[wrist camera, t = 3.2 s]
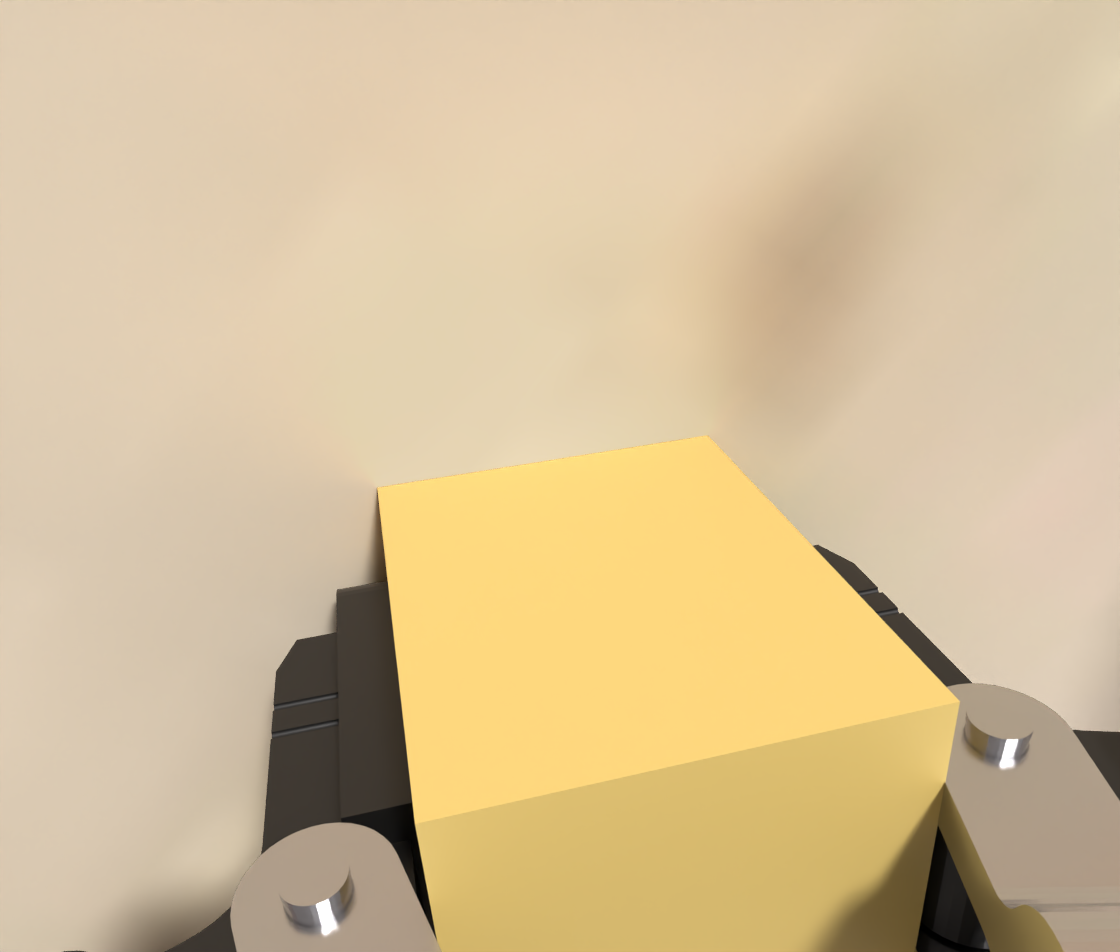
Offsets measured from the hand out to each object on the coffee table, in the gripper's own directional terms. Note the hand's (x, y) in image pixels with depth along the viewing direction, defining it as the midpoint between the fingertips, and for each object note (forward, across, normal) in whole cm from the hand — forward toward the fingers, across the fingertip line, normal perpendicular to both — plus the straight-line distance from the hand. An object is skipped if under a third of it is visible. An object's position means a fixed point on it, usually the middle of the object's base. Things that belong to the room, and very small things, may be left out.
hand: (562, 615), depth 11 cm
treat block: (0, 0, 0) cm, 0 cm away
